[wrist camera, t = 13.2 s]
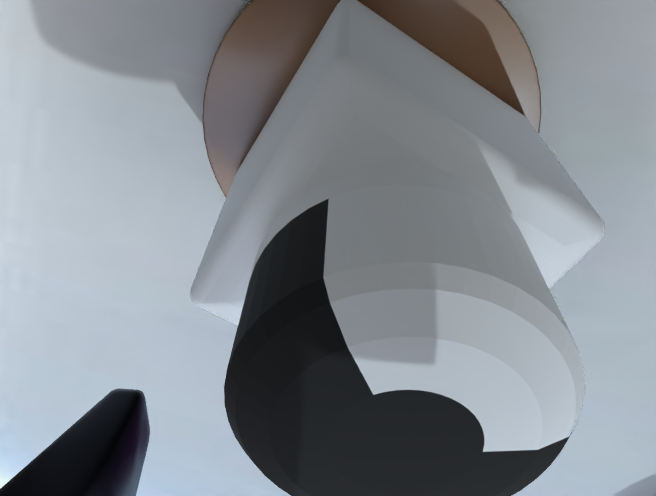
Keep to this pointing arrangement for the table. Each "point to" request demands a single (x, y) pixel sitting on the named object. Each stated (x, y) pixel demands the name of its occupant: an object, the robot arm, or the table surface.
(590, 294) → the table surface
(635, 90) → the table surface
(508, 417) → the medicine bottle
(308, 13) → the cork coaster
